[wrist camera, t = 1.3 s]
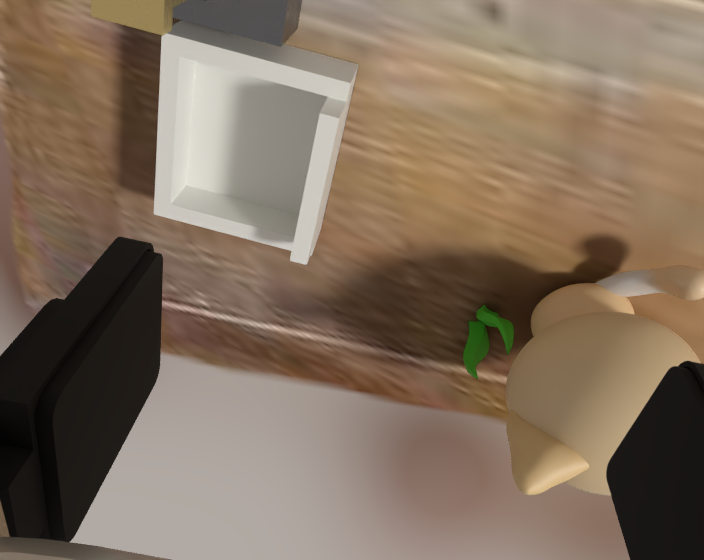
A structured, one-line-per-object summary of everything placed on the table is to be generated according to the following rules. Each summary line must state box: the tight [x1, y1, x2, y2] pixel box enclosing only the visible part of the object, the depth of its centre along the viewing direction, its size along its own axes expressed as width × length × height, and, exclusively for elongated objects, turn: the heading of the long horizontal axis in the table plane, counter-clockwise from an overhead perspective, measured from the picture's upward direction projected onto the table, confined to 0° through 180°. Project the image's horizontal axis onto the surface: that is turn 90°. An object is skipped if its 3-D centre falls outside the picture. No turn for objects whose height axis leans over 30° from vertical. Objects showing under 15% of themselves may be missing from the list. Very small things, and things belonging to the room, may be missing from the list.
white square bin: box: [154, 20, 359, 265], centre depth 35 cm, size 11×10×6 cm
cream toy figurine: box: [463, 265, 704, 495], centre depth 36 cm, size 15×10×15 cm, turn 107°
